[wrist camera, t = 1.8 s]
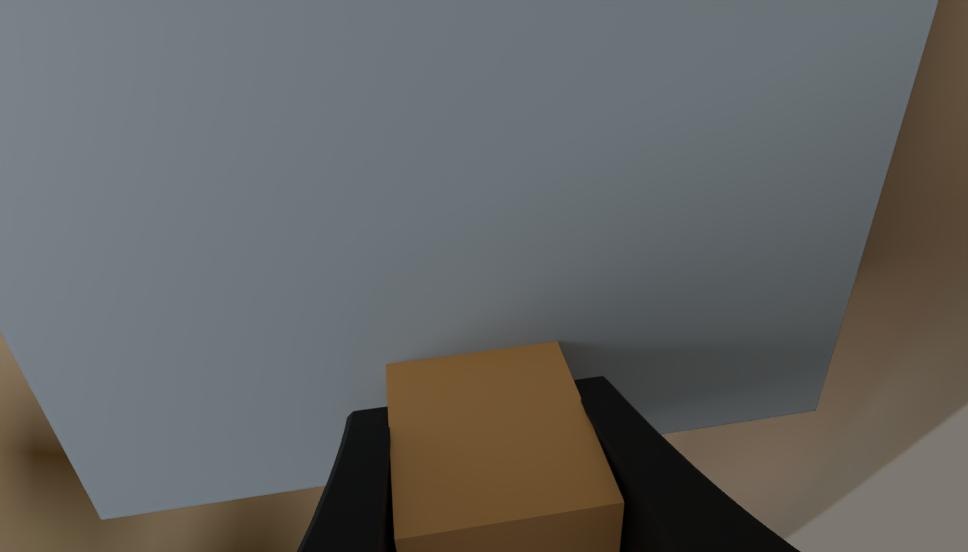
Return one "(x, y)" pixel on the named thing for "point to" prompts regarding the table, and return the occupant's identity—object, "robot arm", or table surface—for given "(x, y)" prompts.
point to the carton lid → (431, 236)
